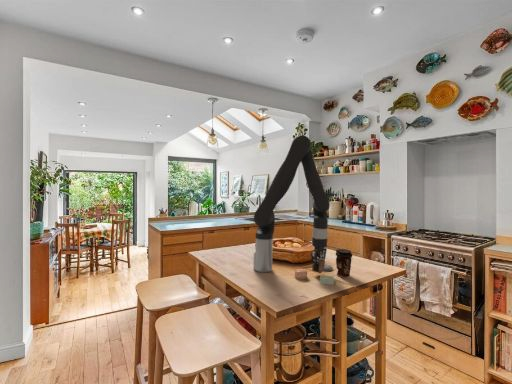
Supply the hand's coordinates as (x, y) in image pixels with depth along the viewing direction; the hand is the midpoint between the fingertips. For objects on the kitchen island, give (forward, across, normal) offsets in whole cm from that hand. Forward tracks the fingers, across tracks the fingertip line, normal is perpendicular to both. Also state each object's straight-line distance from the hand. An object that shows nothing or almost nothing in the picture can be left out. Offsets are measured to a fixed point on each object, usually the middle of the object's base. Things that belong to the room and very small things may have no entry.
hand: (318, 269), depth 137 cm
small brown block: (+3, +8, -5) cm, 10 cm away
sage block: (+3, +6, +8) cm, 10 cm away
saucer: (+3, -13, -2) cm, 13 cm away
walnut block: (+1, 0, 0) cm, 1 cm away
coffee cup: (+3, -9, +10) cm, 13 cm away
